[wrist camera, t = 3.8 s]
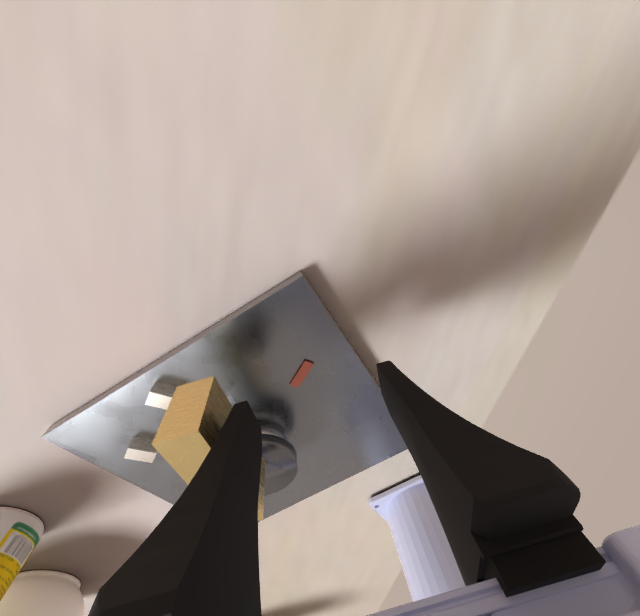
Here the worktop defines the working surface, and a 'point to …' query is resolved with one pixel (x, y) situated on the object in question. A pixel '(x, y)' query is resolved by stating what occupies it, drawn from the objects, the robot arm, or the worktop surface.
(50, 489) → the worktop surface
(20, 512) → the supplement bottle
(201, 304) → the worktop surface
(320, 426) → the base plate
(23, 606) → the lidded jar
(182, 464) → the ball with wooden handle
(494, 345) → the worktop surface
